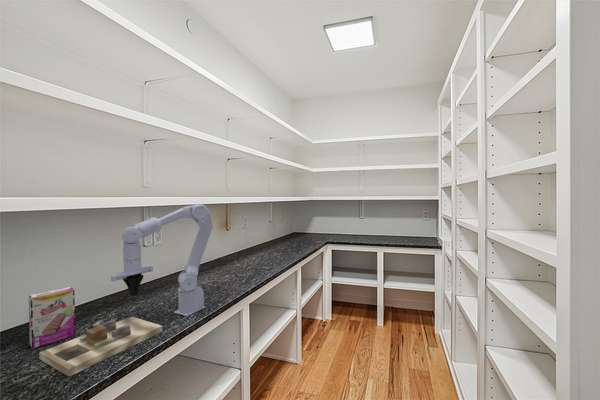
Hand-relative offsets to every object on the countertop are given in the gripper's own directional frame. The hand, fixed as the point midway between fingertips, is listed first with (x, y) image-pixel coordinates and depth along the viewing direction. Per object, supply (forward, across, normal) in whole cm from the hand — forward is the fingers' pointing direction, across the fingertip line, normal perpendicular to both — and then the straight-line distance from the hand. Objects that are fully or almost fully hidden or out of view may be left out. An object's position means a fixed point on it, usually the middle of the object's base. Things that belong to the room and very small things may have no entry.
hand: (133, 295), depth 105 cm
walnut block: (+8, +16, +7) cm, 19 cm away
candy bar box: (+11, +20, -12) cm, 26 cm away
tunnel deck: (+10, +14, +7) cm, 18 cm away
